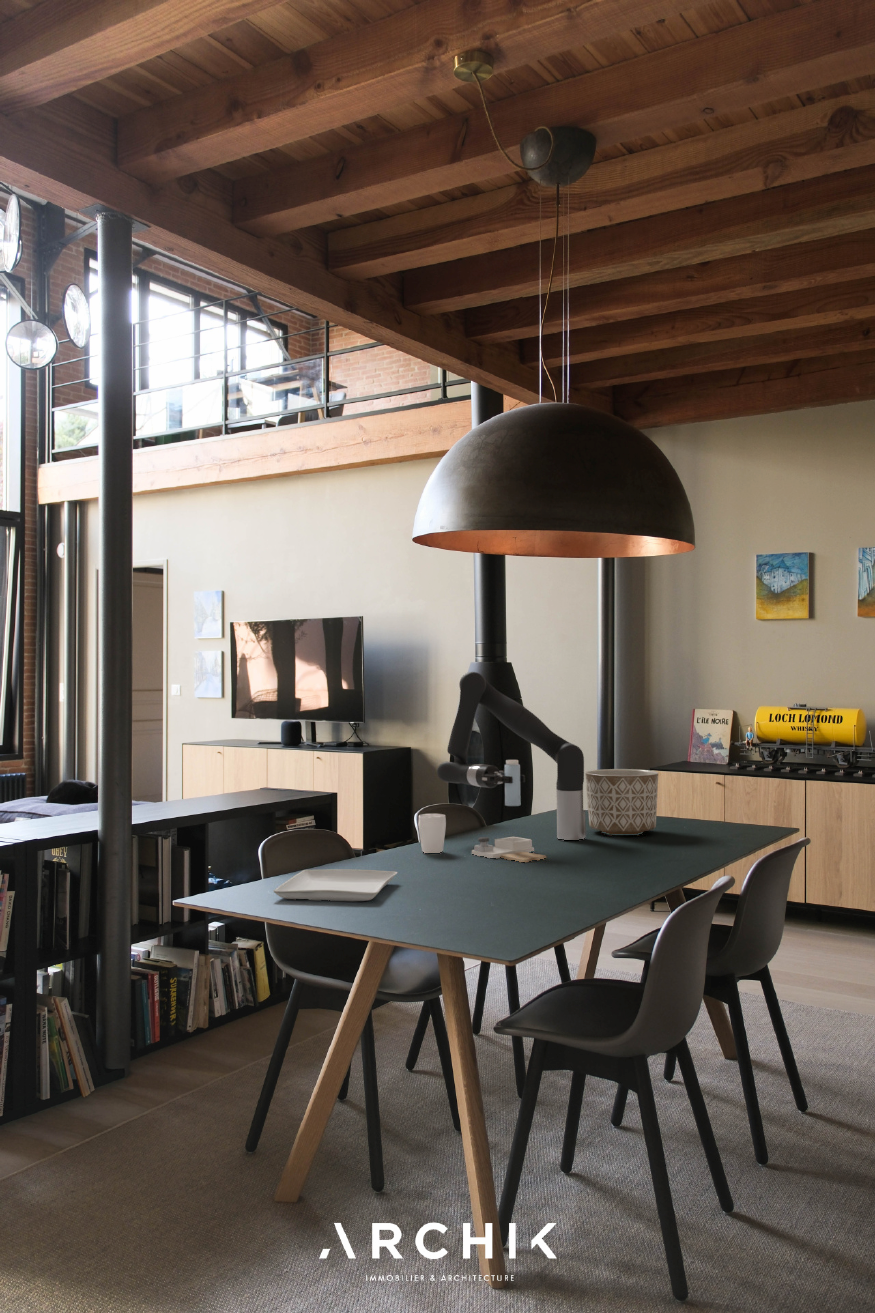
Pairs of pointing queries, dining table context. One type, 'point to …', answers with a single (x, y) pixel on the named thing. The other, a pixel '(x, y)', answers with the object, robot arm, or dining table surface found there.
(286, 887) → the square plate
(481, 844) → the plunger
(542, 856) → the coaster
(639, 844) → the dining table surface
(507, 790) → the bottle
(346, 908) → the dining table surface
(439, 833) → the cup
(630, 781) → the planter
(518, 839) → the housing
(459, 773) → the robot arm
